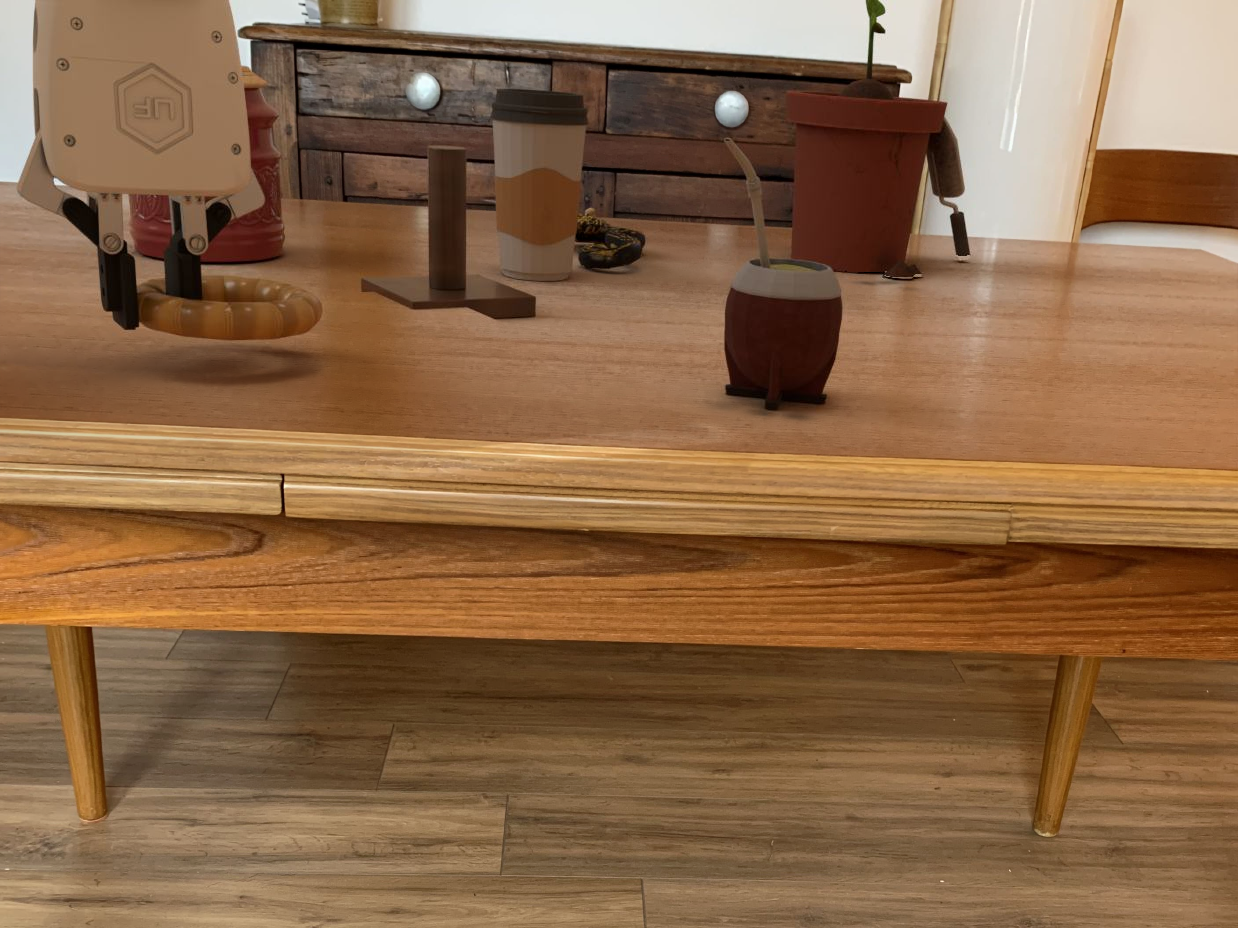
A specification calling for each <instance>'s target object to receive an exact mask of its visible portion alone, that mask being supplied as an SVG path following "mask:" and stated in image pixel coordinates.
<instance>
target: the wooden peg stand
mask: <svg viewBox="0 0 1238 928" xmlns="http://www.w3.org/2000/svg"><path fill="white" fill-rule="evenodd" d="M427 215H428V217H427V220H428V222H427V223H428V275H419V276H389V277H387V276H386V277H385V276H384V277H363V278H361V279H360V287H361V289H360V291H361V293H376V294H378V295H380V296H383V297H385V298H387V299H389V300H391V301H393V302H395V303H397V304H399V305H402V306H404V307H406V308H408V309H410V310H412V311H413V310H433V309H434V310H436V309H437V310H438V309H456V308H468V309H470V310H472V311H475V312H476V313H479V314H482V315H483V316H485V317H488V318H489V319H510V318H511V319H512V318H531V317H536V315H537V314H536V313H537V311H536V310H537V297H536V296H535V295H532V294H530V293H528V292H525V291H522V290H520V289H517V288H514V287H511V286H509V285H506V284H504V283H501V282H499V281H497V280H494V279H491V278H489V277H486V276H483V275H481V274H478V273H477V274H467V148H466V147H462V146H454V145H428V146H427Z"/></svg>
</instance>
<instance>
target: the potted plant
mask: <svg viewBox="0 0 1238 928" xmlns="http://www.w3.org/2000/svg"><path fill="white" fill-rule="evenodd" d="M865 6H866V13H867V15H868V19H869V21H868V22H869V23H868V25H869V27H868V28H869V29H868V50H867V61H866V62H867V64H866V76H865V78H862V79H859V80H855V81H851V82H850V83H849V84H847V86H846V87H845V88H843V89H842V90H841V91H840V92H835V91H834V92H833V91H813V90H786V91H785V116H786V117H785V121H787V122H790V123H795V126H796V127H795V145H794V147H795V148H794V170H793V171H794V173H793V197H792V227H791V249H790V250H791V251H790V259H794V260H803V261H810V262H816V263H820V264H824V265H826V266H829V267H830V268H831V269H832V270H833V272H841V273H842V272H843V273H855V274H856V273H857V274H858V272H885V271H887V272H886V273H882V275H886V276H890V277H913V276H914V275H915V274H922V275H923V273H922V271H920V269H919V268H918V266H917V264H916V263H913V264H911V265H909V264H907V263H906V258H907V252H908V248H909V242H910V238H911V232H912V229H913V223H914V216H915V212H916V206H917V202H918V197H919V191H920V187H921V181H922V176H923V171H924V165H925V161H926V162H927V168H928V173H929V180H930V184H931V191H932V194H933V195H934V196H935V197H938V199H939V203H940V204H941V205H943V206H944V207H948V208H951V209H952V210H953V212H952V213H951V214H950V215H949V220H950V221H949V222H950V227H951V233H952V239H953V245H954V251H955V256H956V255H958V256H967V255H970V256H971V250H970V243H969V237H968V232H967V225H966V219H965V213H964V212H963V211H961V210H960V211H959V207H958V205H957V204H956V203H955V202H952V201H948V200H945V199H955V198H959V197H961V196H963V195H964V193H965V190H966V188H965V187H966V186H965V180H964V174H963V173H964V172H963V167H962V160H961V155H960V149H959V143H958V139H957V136H956V134H955V132H954V131H953V128H952V127H951V125H950V123H949V121H948V120H947V118H946V116H945V115H946V112H947V108H948V107H947V106H948V102H947V101H940V100H933V99H923V98H912V97H903V96H902V97H900V96H894V95H893V93H892V92H891V91H890V89H889V88H888V87H887V86H886V84H885V83H883V82H881V81H878V80H875V79H873V63H874V62H873V61H874V37H875V34H883V35H884V34H886V29H885V28H884V27H883V26H882V24H881V23H880V22H878V21H877V19H878V18H879V17H881V16H883V15H885V14H886V7H885V5H884V3H882V2H881V1H880V0H865ZM958 262H960V263H961V261H958ZM835 270H836V271H835ZM845 271H847V272H845ZM890 279H892V278H890ZM892 280H893V279H892Z"/></svg>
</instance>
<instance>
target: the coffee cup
mask: <svg viewBox="0 0 1238 928" xmlns="http://www.w3.org/2000/svg"><path fill="white" fill-rule="evenodd" d="M584 101H585V100H584V94H581V93H575V92H568V91H567V92H566V91H555V90H543V89H542V90H541V89H523V88H497V89H496V95H495V101H493V102H491V113H490V119H491V120H492V132H493V133H492V135H493V155H494V175H493V178H494V179H493V181H494V194H495V195H494V197H495V217H496V219H495V220H496V230H497V238H498V259H499V268H501V269H502V275H504V276H505V277H508V278H511V279H515V280H516V279H518V280H522V281H523V280H524V281H538V282H553V281H563V280H567V279H569V275H570V274H569V273H570V272H572V271H573V263H574V252H575V244H576V242H575V234H576V232H577V222H578V214H579V213H580V212H579V210H580V200H581V190H582V171H583V160H584V153H585V152H584V151H585V141H586V130H587V126H588V125H589V121H588V116H587V115H588V113H589V112H588V108H586V107H585V102H584Z"/></svg>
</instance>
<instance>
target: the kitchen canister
mask: <svg viewBox="0 0 1238 928" xmlns="http://www.w3.org/2000/svg"><path fill="white" fill-rule="evenodd" d="M241 68H242V76H243V84H244V91H245V101H246V109H247V119H248V129H249V141H250V158H251V168H252V170H253V172H254V174H255V177H256V179H257V181H258V183H259V185H260V187H261V190H262V192H263V194H264V197H265V203H264V205H263V206H262V207H260V208H259V209H256V210H254V211H252V212H250V213H248V214H246V215H243V216H241V217H239V218H235V219H233V220H231V221H230V222H229V223H228V224H227V225H226V226H225V227H224V228H223V229H222V230H221V231H220V232H219V233H218V235H217V236H216V237H215V238H214V239H213V240H212V241H211V242H210V243H209V244H208V248H207V250H206V252H205V253H203V254H201V255H200V256H201V263H240V262H241V263H243V262H255V261H263V260H269V259H273V258H277V257H279V256H281V255H282V254H283V252H284V243H285V240H286V234H285V228H286V227H285V224H284V221H283V211H282V210H283V209H282V192H281V188H282V187H281V172H280V160H281V159H282V154H281V152H280V151H279V150H278V149H277V147H276V143H275V136H274V124H275V122H276V121H277V120H278V119H279V116H280V114H279V111H278V110H277V109H275V107H273V106H272V105H270V104H269V103H268V102H267V101H266V99H265V97H264V94H263V92H262V89H263V88H267V87H268V82H267V81H266V80H265V79H263V78H261V77H260V76H259V75H257V74H256V73H255V72H253V71H252V69H251V68H250V67H249V66H247V65H242V64H241ZM127 195H128V203H129V205H128V206H129V215H130V216H129V220H128V226H129V228H130V230H129V235H130V237H131V239H132V242H133V247H134V250H135V252H137V253H139V254H142V255H144V256H148V257H153V258H158V259H163V260H164V250H167V249H166V246H168V247H170V238H171V237H172V226H171V215H170V204H169V195H141V194H127ZM216 197H218V196H204V198H205V201H206V200H209V199H214V198H216Z"/></svg>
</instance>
